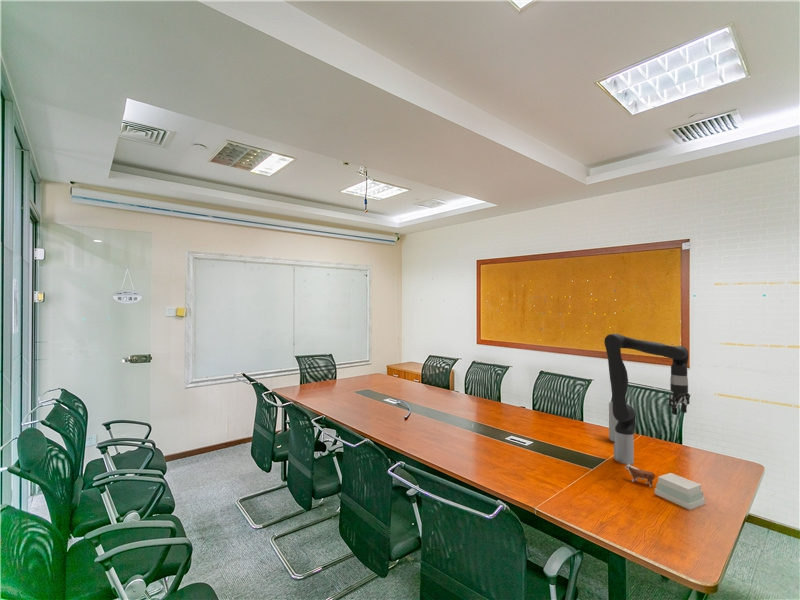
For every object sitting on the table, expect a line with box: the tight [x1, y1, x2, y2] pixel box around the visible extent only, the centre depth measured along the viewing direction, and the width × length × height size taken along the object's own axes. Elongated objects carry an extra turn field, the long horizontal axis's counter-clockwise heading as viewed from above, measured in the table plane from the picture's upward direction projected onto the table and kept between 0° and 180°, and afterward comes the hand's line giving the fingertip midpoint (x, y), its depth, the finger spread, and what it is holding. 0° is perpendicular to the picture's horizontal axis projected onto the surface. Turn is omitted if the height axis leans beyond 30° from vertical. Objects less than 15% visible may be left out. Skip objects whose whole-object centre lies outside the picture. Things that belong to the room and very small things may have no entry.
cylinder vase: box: [608, 401, 631, 443], centre depth 245 cm, size 12×12×25 cm
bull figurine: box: [624, 464, 656, 488], centre depth 187 cm, size 4×13×8 cm, turn 43°
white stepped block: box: [654, 472, 706, 511], centre depth 171 cm, size 15×12×9 cm
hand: (679, 413), depth 194 cm, fingers open, 8 cm apart
